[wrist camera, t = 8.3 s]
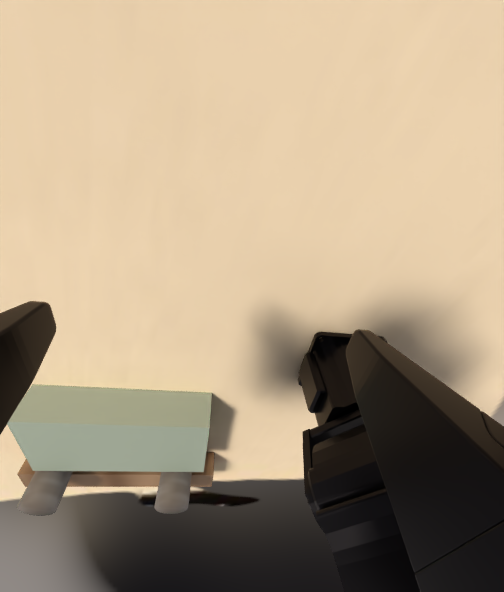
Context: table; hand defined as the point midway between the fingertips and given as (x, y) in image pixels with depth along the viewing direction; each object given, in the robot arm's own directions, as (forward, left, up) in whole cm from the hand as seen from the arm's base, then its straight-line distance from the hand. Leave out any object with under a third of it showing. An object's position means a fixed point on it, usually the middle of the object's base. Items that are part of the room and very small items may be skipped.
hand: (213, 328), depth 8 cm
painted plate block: (+7, +22, -11) cm, 26 cm away
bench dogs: (+8, +29, -11) cm, 32 cm away
